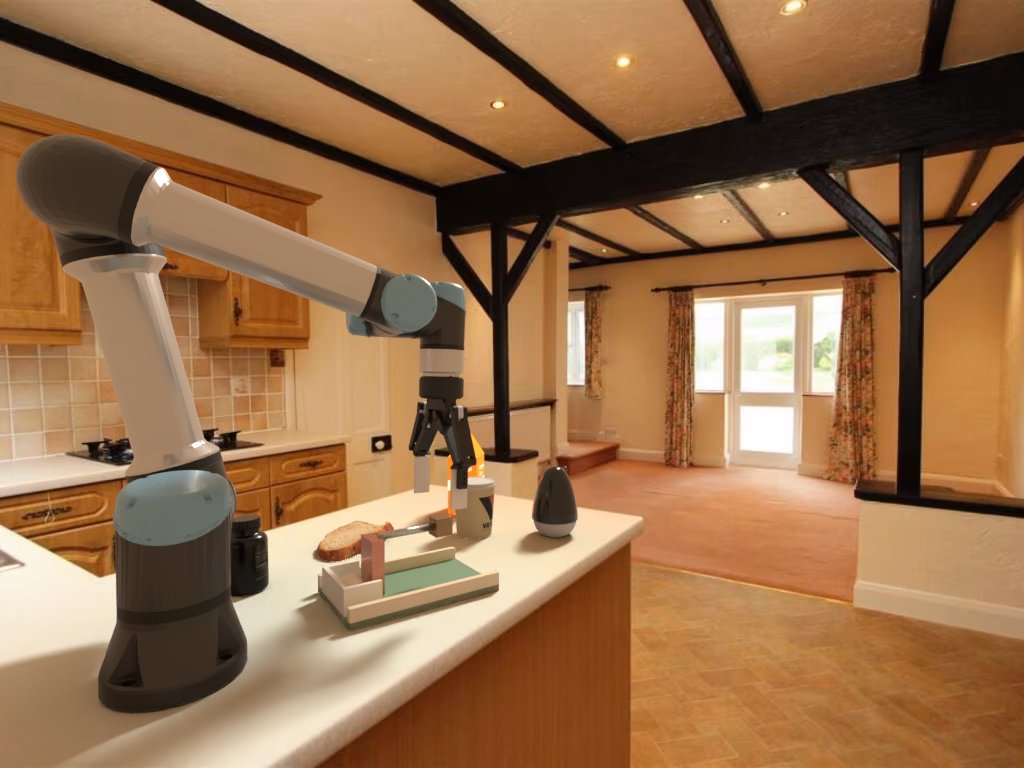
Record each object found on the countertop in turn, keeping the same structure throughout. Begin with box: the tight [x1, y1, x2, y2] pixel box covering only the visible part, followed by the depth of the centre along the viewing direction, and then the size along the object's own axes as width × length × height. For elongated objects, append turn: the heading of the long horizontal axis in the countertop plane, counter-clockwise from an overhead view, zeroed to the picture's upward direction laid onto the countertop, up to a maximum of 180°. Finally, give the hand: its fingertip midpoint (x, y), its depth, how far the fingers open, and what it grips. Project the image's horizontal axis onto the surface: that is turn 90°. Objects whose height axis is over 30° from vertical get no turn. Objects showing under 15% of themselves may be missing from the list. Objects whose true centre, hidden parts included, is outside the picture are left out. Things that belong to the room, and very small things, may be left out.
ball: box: [341, 573, 364, 586], centre depth 84 cm, size 4×4×4 cm
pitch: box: [317, 546, 500, 632], centre depth 90 cm, size 25×16×5 cm, turn 125°
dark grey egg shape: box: [531, 465, 579, 538], centre depth 121 cm, size 10×10×15 cm
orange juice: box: [447, 433, 485, 514], centre depth 142 cm, size 8×9×20 cm
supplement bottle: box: [231, 513, 270, 598], centre depth 90 cm, size 7×7×12 cm
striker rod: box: [360, 513, 454, 595], centre depth 90 cm, size 14×5×10 cm, turn 125°
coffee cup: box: [454, 476, 496, 540], centre depth 121 cm, size 9×9×12 cm
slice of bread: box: [316, 520, 395, 562], centre depth 115 cm, size 18×18×4 cm
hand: (438, 500), depth 93 cm, fingers open, 13 cm apart
